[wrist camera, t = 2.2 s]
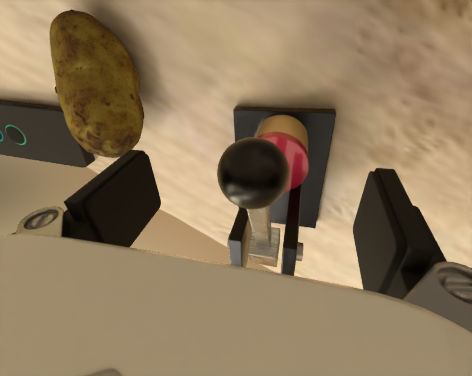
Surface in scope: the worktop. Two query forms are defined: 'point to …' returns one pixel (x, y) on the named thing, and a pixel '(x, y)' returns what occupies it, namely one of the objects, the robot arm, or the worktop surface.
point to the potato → (95, 85)
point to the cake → (288, 144)
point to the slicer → (296, 200)
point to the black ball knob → (256, 190)
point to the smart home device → (39, 134)
